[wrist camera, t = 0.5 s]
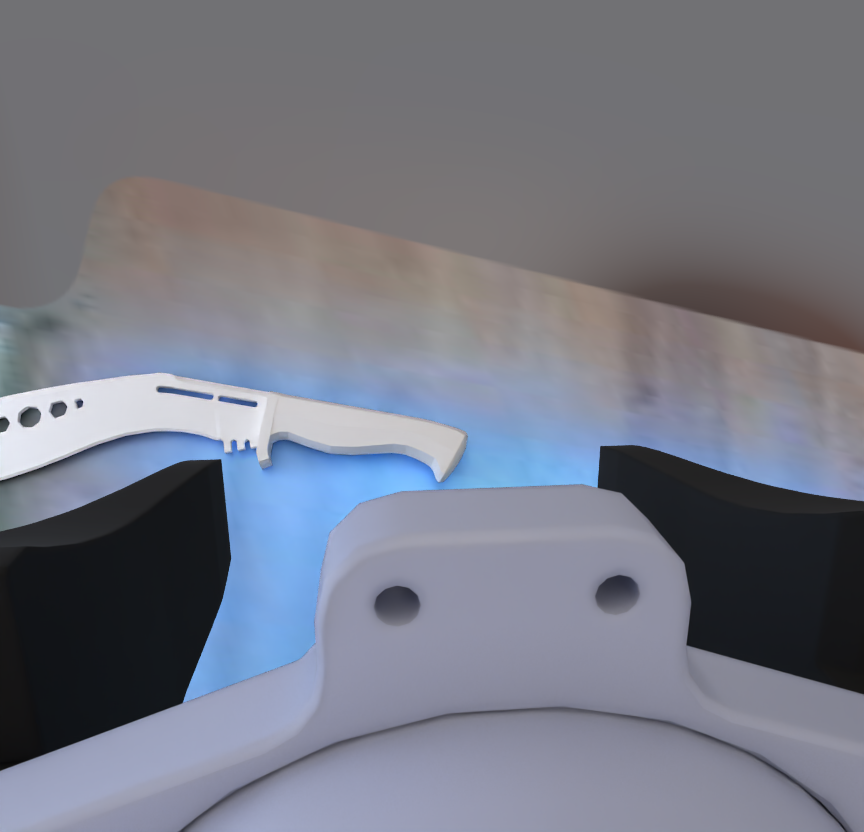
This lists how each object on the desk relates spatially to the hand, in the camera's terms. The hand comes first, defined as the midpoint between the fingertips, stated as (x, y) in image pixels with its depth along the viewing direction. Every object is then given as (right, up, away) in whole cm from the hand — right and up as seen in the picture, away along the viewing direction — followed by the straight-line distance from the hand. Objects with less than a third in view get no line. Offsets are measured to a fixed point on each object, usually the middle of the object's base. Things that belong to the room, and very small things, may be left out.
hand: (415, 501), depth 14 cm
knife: (-13, 0, +23) cm, 26 cm away
